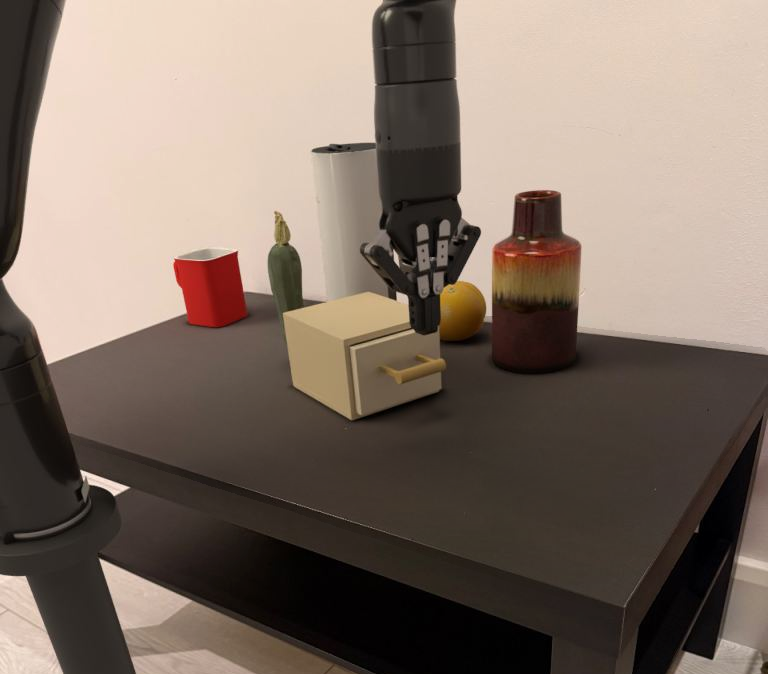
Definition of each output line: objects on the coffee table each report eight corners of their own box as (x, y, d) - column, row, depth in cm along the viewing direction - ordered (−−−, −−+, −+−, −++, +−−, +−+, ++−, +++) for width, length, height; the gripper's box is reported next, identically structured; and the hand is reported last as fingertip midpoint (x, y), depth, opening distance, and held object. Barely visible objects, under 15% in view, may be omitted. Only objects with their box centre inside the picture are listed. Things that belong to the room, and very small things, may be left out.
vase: (509, 342, 107) (510, 186, 97) (585, 349, 103) (595, 186, 92) (479, 368, 99) (477, 201, 89) (561, 378, 95) (569, 202, 84)
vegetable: (312, 369, 104) (292, 213, 94) (280, 371, 104) (257, 216, 94) (315, 358, 108) (295, 207, 97) (284, 360, 108) (261, 210, 98)
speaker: (388, 345, 110) (373, 145, 97) (320, 344, 113) (296, 149, 99) (406, 322, 119) (394, 136, 105) (342, 322, 121) (323, 140, 108)
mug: (253, 314, 129) (242, 249, 124) (219, 329, 123) (206, 261, 118) (202, 308, 135) (189, 245, 130) (167, 321, 129) (152, 256, 124)
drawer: (466, 400, 89) (464, 334, 85) (384, 428, 84) (378, 360, 80) (380, 361, 102) (375, 302, 98) (305, 383, 97) (296, 323, 93)
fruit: (424, 349, 107) (421, 292, 103) (425, 331, 114) (422, 277, 110) (488, 346, 107) (487, 288, 102) (485, 328, 113) (484, 273, 109)
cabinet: (439, 391, 94) (436, 314, 89) (351, 420, 88) (343, 339, 83) (374, 362, 105) (368, 291, 100) (293, 386, 99) (282, 312, 94)
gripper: (378, 150, 62) (391, 357, 71) (503, 133, 68) (501, 325, 77) (332, 147, 68) (349, 339, 76) (451, 131, 74) (455, 311, 82)
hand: (425, 332), depth 77 cm, fingers closed
